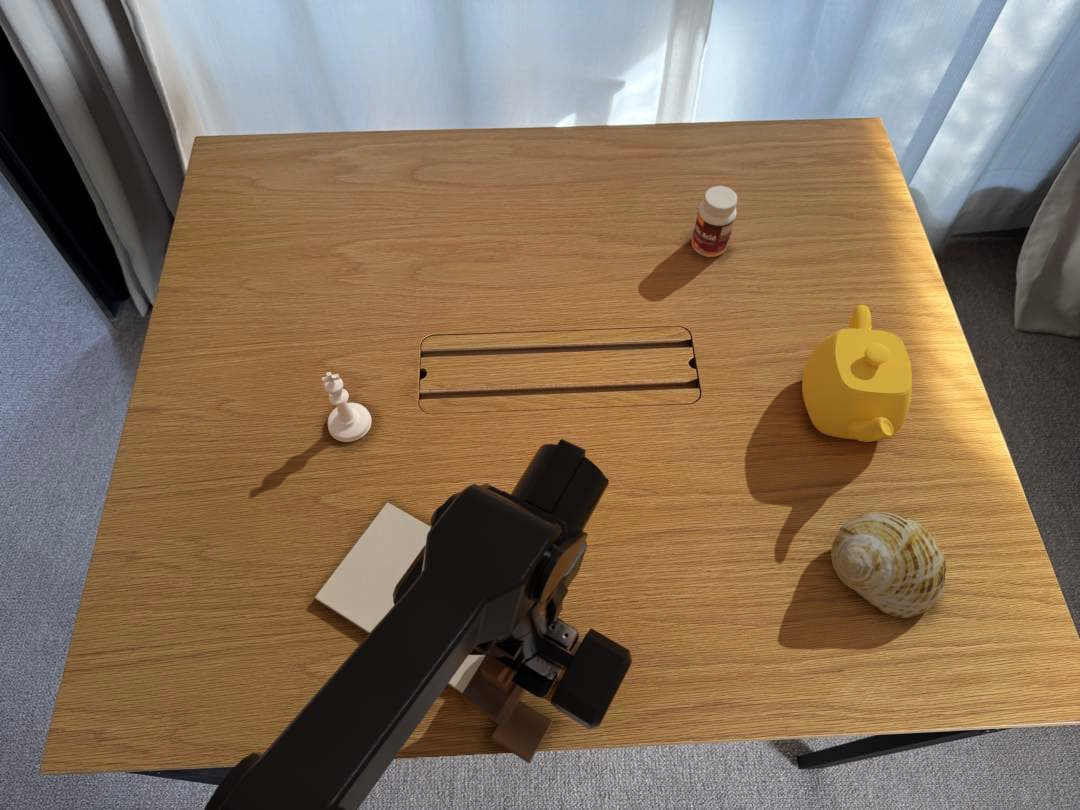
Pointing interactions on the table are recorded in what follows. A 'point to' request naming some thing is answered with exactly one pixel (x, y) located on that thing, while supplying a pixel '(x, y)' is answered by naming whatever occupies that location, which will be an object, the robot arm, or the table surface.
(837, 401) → the teapot
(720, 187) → the pill bottle
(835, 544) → the seashell
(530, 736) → the chip
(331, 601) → the tile
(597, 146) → the table surface
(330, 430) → the chess piece
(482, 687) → the brown stepped block
